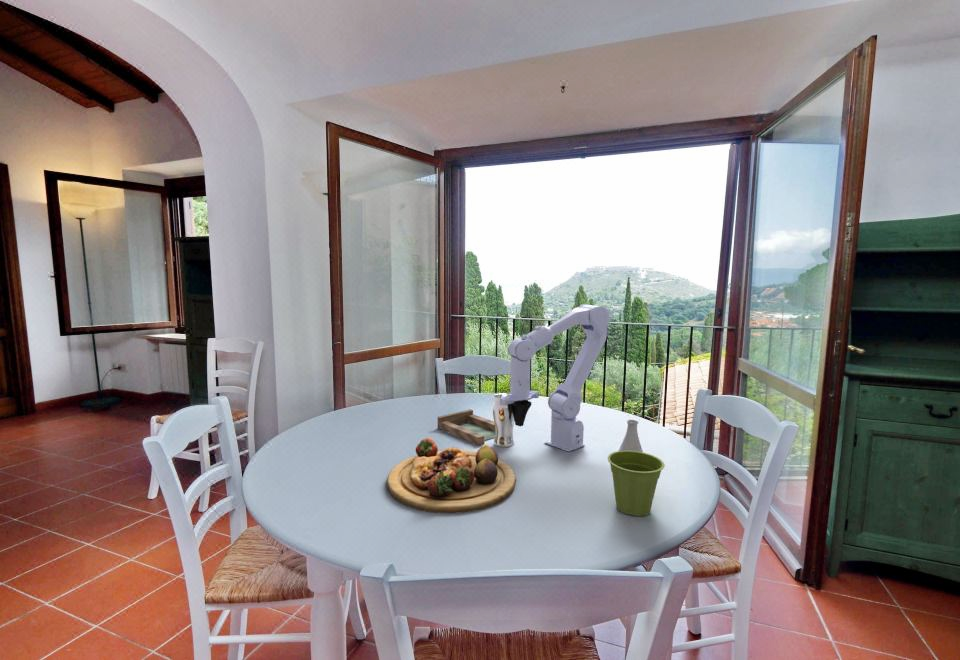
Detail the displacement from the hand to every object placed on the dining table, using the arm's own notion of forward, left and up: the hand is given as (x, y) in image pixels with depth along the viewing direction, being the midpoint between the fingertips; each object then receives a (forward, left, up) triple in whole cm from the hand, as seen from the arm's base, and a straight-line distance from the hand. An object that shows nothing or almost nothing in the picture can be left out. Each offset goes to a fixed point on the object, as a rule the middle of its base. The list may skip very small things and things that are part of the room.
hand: (519, 425), depth 138 cm
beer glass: (+6, 0, -8) cm, 10 cm away
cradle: (+20, 0, -7) cm, 21 cm away
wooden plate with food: (-5, +29, -8) cm, 30 cm away
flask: (-24, -23, -8) cm, 34 cm away
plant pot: (-42, +6, -8) cm, 43 cm away
